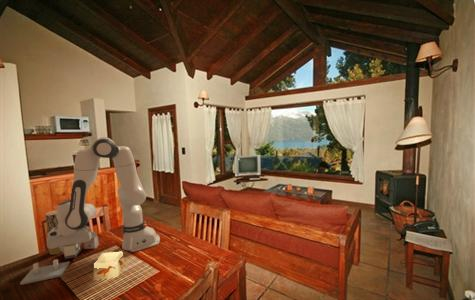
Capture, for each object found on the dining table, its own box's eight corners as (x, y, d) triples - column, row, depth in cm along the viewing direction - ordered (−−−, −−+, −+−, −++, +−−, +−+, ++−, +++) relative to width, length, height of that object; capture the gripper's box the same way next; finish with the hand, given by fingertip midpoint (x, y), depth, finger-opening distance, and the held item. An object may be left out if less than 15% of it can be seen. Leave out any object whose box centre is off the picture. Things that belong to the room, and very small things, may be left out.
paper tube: (55, 255, 124) (51, 214, 122) (46, 254, 125) (42, 214, 123) (67, 249, 131) (63, 210, 128) (58, 248, 132) (54, 209, 130)
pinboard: (69, 263, 117) (68, 252, 116) (61, 276, 107) (60, 264, 106) (32, 270, 111) (31, 259, 110) (20, 285, 101) (19, 272, 100)
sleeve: (78, 252, 125) (77, 241, 124) (75, 257, 120) (74, 245, 120) (68, 254, 123) (67, 242, 123) (65, 259, 119) (63, 247, 118)
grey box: (87, 245, 135) (86, 230, 134) (98, 245, 135) (97, 230, 134) (83, 249, 131) (82, 233, 130) (95, 248, 131) (93, 233, 130)
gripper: (91, 222, 127) (94, 244, 128) (49, 229, 120) (52, 252, 121) (88, 227, 121) (91, 250, 122) (43, 234, 114) (47, 258, 115)
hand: (71, 251), depth 122 cm, fingers closed on sleeve, 5 cm apart
